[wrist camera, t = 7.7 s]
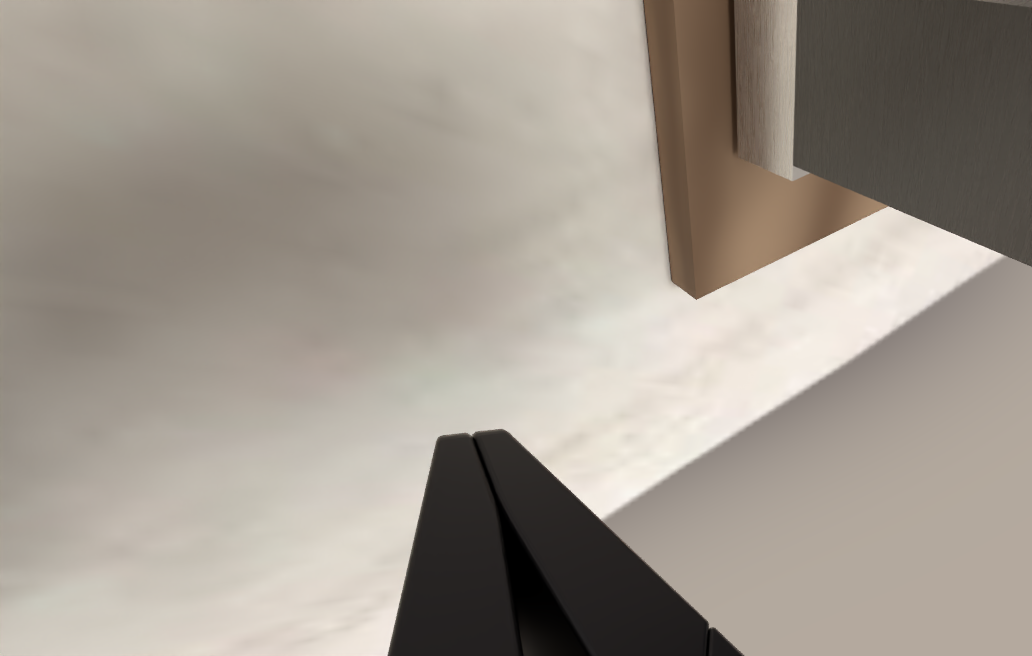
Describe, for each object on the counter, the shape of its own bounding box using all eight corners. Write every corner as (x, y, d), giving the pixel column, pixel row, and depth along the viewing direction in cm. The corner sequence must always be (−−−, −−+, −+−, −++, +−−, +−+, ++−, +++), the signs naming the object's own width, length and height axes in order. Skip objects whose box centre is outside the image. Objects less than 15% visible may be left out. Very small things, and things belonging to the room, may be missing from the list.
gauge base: (672, 281, 26) (821, 392, 20) (631, -119, 18) (858, -127, 12) (937, 155, 28) (1136, 220, 23) (1002, -241, 21) (1332, -294, 15)
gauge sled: (738, 196, 23) (1061, 361, 15) (732, -51, 18) (1191, -9, 10) (868, 136, 24) (1234, 260, 16) (893, -110, 19) (1419, -114, 11)
